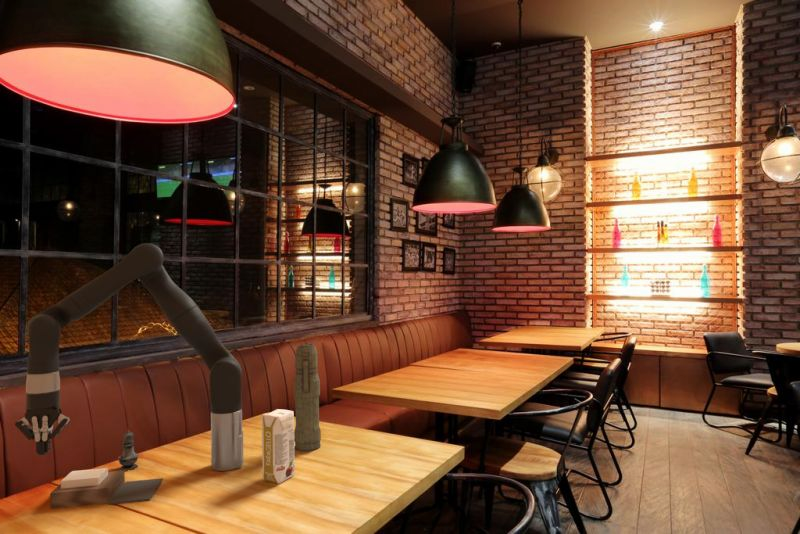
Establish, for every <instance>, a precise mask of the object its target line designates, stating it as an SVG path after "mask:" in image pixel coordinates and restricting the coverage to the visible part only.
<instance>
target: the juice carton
mask: <svg viewBox="0 0 800 534" xmlns="http://www.w3.org/2000/svg"><path fill="white" fill-rule="evenodd" d="M294 415H295V413H294V410H288V409H283V408H281V409H279V408H276V409H275V410H273V411H271V412H266V413H263V414H262V413H261V439H262V440H261V441H262V444H261V445H262V446H261V449H262V451H261V452H262V453H261V454H262V456H261V457H262V460H261V461H262V480H263V481H265V482H270V483H274V484H282V483H283V482H284V481H287V480H289V479H290V478H292V477H294V476H295V475H296V474H295V473H296V472H295V470H296V469H295V464H296V463H295V441H294V431H295V416H294Z"/></svg>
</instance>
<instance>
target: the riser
mask: <svg viewBox="0 0 800 534" xmlns="http://www.w3.org/2000/svg"><path fill="white" fill-rule="evenodd" d="M125 473H126V471H120V470H117V471H116V470H115V471H108V476H107V477H106V478H105V479H104V480H103V481H102V482H101V483H100V484H99V485H95V486H84V487H73V488H63V489H61V483H59V484H58V485H57V486H56V487H55V489H53V490H52V491H51V492H50V494H49V496H50V497H49V499H50V500H49V501H50V502H49V503H50V504H49V506H50V507H49V508H50V510H51V509H62V508H63V507H64V508H75V507H81V506H92V505H103V504H109V502H110V500H111V499H112V498H113V497H114V495H115V494H116V493H117V492H118V491H119V489H120V488H121V487H122V486H123V484H124V483H125V482H126V481H125V480H126V479H125Z"/></svg>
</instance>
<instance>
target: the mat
mask: <svg viewBox="0 0 800 534" xmlns="http://www.w3.org/2000/svg"><path fill="white" fill-rule="evenodd" d="M163 481H164V478H162V477H161V478H151V479H139V480H129V481H128V480H127V481H125V483H124V484H123V486H122V487H121V488H120V489H119V491H118V492H117V493H116V494H115V495H114V497H113V498H112V499H111V500H110V502H109V503H108V505H117V504H118V505H119V504H127V503H128V504H129V503H139V502H146V501H147V502H148V501H151V500H152V498H153V497H154V495H155V493H156V492H157V490H158V489H159V487H160V486H161V484H162V482H163Z"/></svg>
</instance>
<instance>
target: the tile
mask: <svg viewBox="0 0 800 534" xmlns="http://www.w3.org/2000/svg"><path fill="white" fill-rule="evenodd" d="M108 472H109V468H108V467H103V468H91V469H81V470H79V469H78V470H72V471H71V472H69V473H68V474H67V475H66V476H65V477H64V478H63V479H61V480H60V484H61V489H63V488H73V487H84V486H95V485H99V484H100V483H101V482H102V481H103V480H104V479H105V478H106V477H107V476H108Z"/></svg>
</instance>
